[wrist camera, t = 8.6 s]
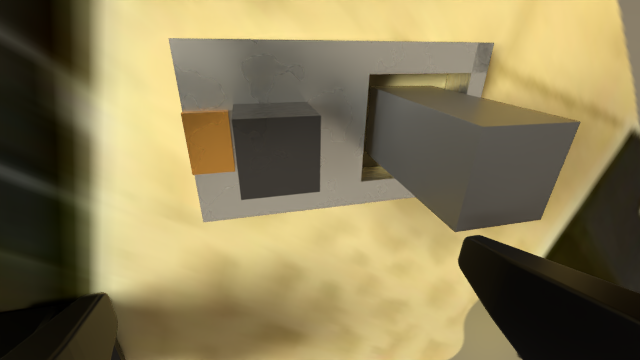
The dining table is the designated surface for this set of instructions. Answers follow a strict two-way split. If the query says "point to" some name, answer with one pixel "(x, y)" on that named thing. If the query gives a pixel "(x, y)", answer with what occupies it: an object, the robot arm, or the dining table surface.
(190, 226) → the dining table surface
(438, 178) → the plug
